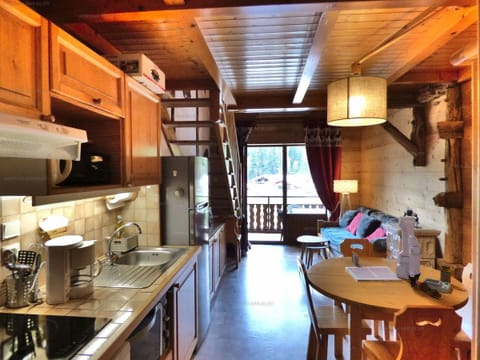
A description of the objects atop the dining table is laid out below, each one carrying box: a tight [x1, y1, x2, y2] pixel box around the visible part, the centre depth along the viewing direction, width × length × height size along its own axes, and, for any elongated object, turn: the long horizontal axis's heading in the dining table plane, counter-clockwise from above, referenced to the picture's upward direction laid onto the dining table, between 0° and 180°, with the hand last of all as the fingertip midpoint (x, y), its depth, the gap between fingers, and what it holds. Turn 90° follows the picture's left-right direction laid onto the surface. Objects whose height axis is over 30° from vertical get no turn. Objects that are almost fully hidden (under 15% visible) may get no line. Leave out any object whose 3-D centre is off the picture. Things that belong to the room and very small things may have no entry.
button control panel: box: [422, 277, 451, 294], centre depth 201 cm, size 14×12×4 cm
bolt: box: [418, 281, 442, 299], centre depth 190 cm, size 6×5×15 cm
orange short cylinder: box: [410, 280, 419, 289], centre depth 202 cm, size 4×4×6 cm
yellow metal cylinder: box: [439, 264, 452, 285], centre depth 209 cm, size 7×8×12 cm
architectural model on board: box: [351, 249, 360, 266], centre depth 254 cm, size 11×3×10 cm, turn 174°
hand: (414, 284), depth 202 cm, fingers open, 7 cm apart
